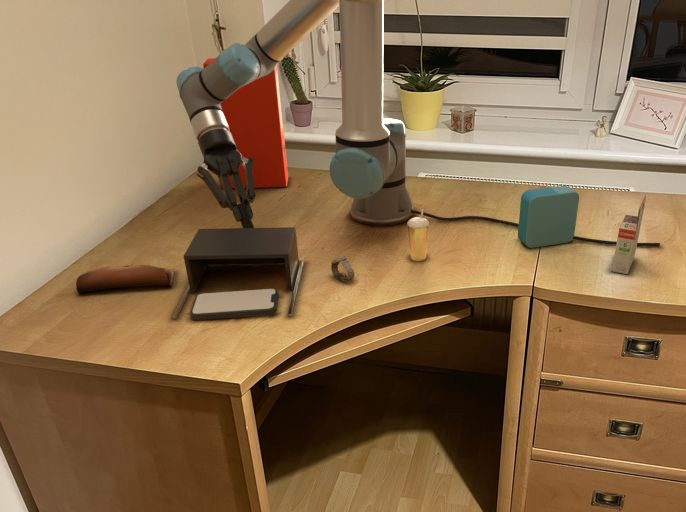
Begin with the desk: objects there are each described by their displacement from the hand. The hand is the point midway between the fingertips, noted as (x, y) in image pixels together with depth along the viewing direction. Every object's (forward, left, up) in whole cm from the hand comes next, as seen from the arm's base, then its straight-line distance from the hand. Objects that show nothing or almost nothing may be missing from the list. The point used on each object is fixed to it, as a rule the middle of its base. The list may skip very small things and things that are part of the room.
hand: (250, 232), depth 152 cm
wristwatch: (-20, +12, -6) cm, 24 cm away
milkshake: (-36, +2, -6) cm, 37 cm away
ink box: (-79, +8, -6) cm, 80 cm away
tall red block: (+7, -47, -6) cm, 48 cm away
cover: (0, +10, -5) cm, 12 cm away
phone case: (0, +23, -6) cm, 24 cm away
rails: (0, +16, -5) cm, 17 cm away
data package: (-65, -5, -6) cm, 66 cm away
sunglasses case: (+24, +12, -6) cm, 27 cm away
